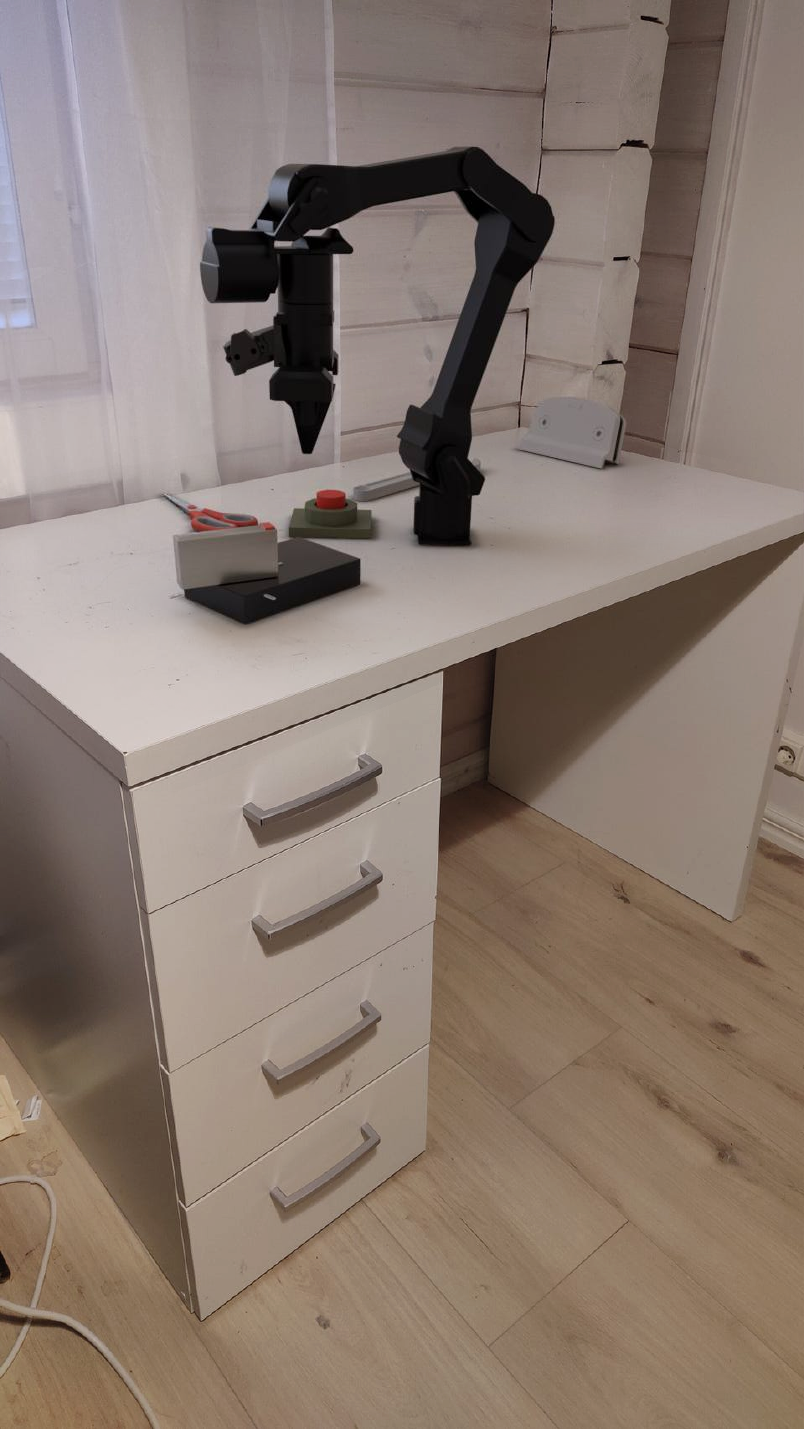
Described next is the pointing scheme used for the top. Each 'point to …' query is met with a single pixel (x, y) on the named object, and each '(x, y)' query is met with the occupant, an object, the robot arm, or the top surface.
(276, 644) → the top surface
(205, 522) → the scissors
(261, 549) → the silver metal slab
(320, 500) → the release button
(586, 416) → the grey mounting bracket
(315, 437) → the robot arm
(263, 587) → the black flat block
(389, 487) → the adjustable wrench
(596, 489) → the top surface
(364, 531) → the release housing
